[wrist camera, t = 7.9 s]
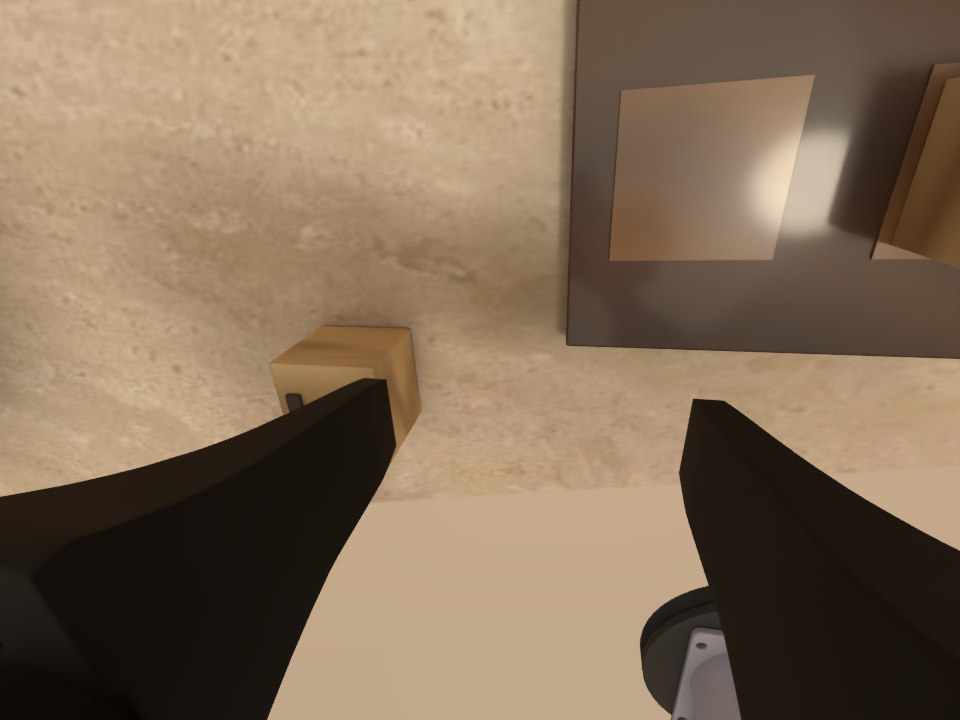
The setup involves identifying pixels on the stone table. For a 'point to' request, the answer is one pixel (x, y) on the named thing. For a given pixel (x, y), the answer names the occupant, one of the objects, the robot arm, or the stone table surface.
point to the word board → (756, 176)
